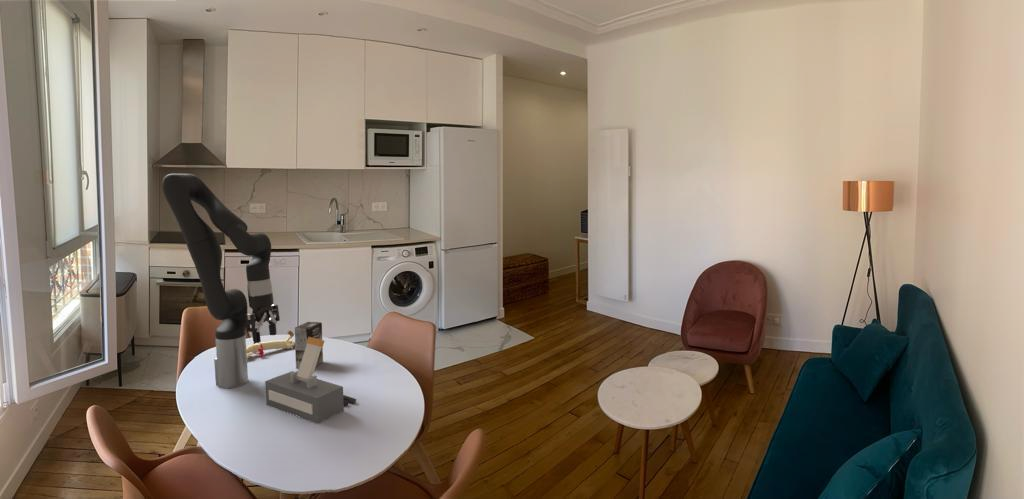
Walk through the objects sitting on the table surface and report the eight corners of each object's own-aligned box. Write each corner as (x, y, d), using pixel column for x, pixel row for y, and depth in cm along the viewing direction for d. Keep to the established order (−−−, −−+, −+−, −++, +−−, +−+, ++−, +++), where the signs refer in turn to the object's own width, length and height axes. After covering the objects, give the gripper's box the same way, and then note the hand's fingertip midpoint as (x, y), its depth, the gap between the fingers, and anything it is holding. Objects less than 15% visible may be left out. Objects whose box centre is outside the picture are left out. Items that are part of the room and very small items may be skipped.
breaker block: (308, 387, 181) (307, 357, 179) (358, 403, 169) (357, 371, 168) (265, 405, 167) (263, 372, 165) (316, 424, 155) (315, 389, 153)
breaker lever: (298, 379, 166) (312, 337, 169) (311, 383, 163) (325, 340, 166) (293, 379, 164) (307, 336, 168) (306, 383, 162) (320, 339, 165)
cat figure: (288, 347, 226) (225, 356, 207) (289, 327, 225) (226, 335, 206) (298, 353, 219) (235, 363, 200) (299, 332, 218) (236, 341, 200)
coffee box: (310, 370, 197) (309, 328, 194) (295, 368, 198) (293, 327, 196) (323, 361, 206) (322, 322, 203) (309, 360, 207) (307, 320, 205)
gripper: (263, 288, 184) (268, 332, 186) (235, 297, 170) (241, 345, 172) (282, 288, 183) (287, 332, 185) (256, 297, 169) (261, 345, 171)
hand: (265, 338), depth 178 cm, fingers open, 8 cm apart
